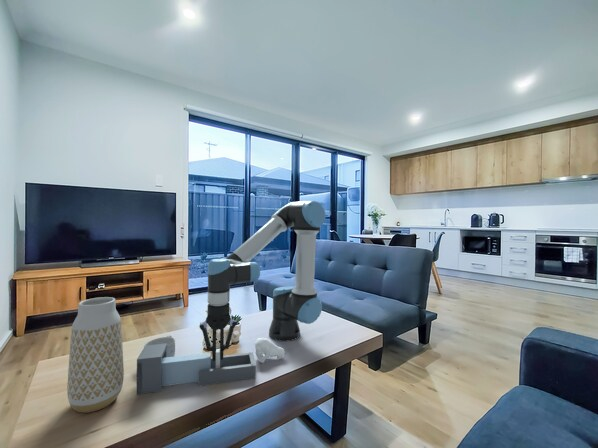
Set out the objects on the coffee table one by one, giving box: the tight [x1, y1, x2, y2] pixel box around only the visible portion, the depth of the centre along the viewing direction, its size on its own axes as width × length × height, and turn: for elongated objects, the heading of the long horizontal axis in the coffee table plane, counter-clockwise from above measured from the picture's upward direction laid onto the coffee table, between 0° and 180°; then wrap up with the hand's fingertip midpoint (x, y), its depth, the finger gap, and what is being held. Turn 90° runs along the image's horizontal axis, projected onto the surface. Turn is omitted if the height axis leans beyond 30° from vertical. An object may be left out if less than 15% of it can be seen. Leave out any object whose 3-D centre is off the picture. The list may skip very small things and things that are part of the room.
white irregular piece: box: [254, 337, 285, 364], centre depth 111 cm, size 6×8×12 cm
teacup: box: [143, 334, 176, 357], centre depth 109 cm, size 14×11×8 cm
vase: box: [66, 296, 125, 414], centre depth 83 cm, size 14×14×31 cm
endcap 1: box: [136, 343, 167, 395], centre depth 93 cm, size 7×10×11 cm
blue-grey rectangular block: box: [162, 351, 212, 387], centre depth 95 cm, size 20×4×8 cm, turn 106°
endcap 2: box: [198, 351, 257, 387], centre depth 100 cm, size 19×10×4 cm, turn 106°
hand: (217, 368), depth 99 cm, fingers closed
